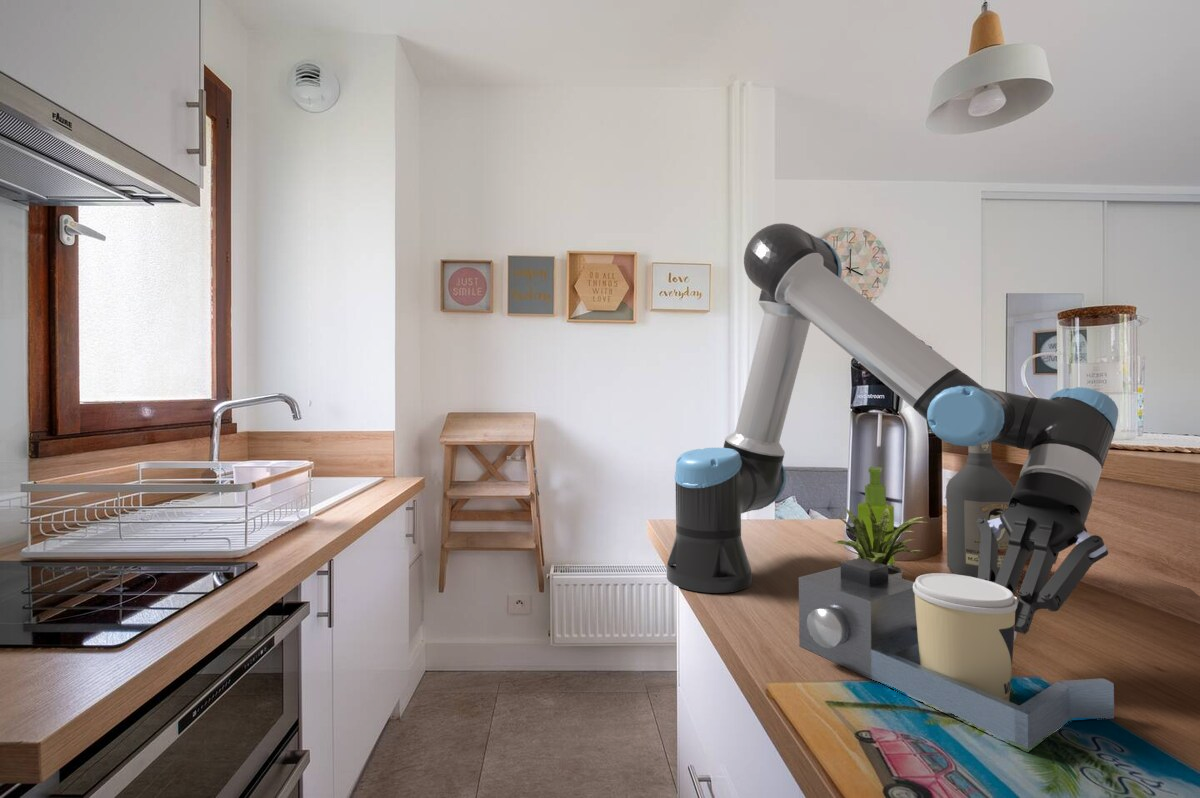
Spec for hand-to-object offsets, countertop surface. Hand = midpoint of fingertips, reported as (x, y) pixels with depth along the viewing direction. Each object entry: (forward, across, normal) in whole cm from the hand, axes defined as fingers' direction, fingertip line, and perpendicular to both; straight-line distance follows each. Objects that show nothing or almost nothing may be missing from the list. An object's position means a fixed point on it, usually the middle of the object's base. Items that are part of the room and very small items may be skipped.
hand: (995, 651), depth 59 cm
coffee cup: (+7, +1, +1) cm, 7 cm away
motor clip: (+6, +5, 0) cm, 7 cm away
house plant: (-4, +19, -10) cm, 22 cm away
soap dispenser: (-15, +30, -21) cm, 39 cm away
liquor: (-27, +20, -33) cm, 47 cm away
